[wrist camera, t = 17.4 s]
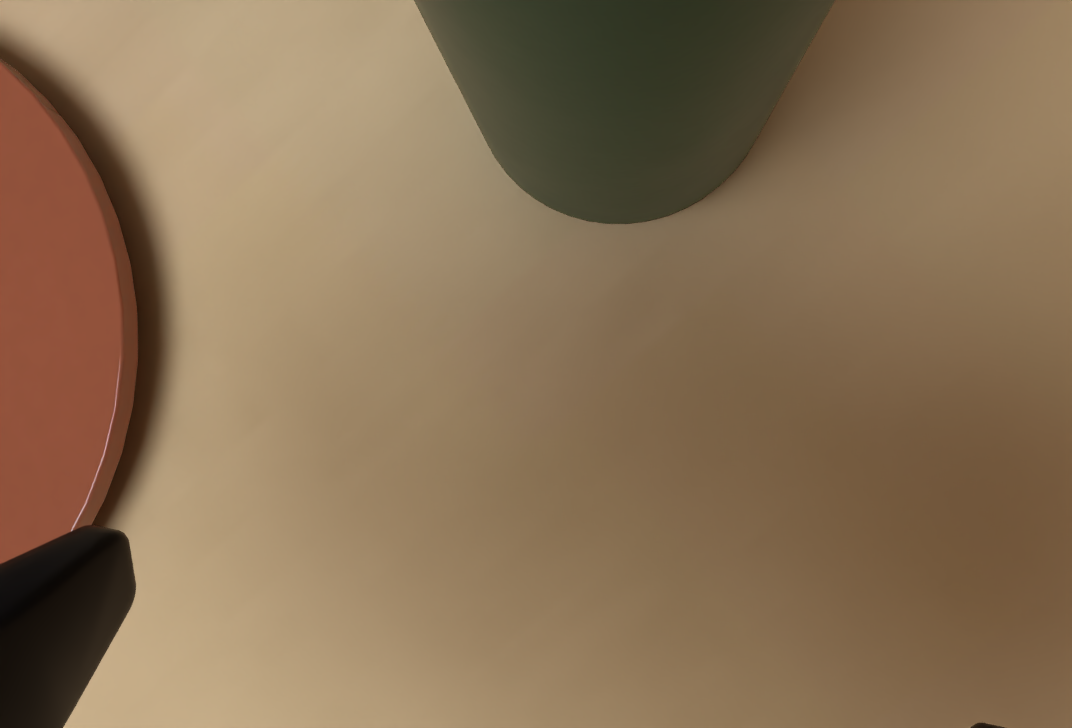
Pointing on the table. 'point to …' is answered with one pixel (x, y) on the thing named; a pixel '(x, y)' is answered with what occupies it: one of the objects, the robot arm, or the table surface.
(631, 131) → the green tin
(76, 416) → the plate
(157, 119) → the table surface
